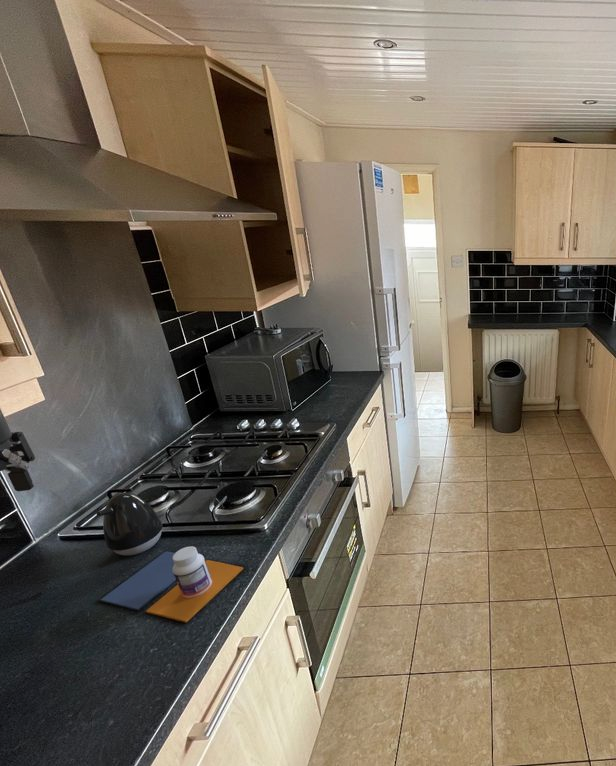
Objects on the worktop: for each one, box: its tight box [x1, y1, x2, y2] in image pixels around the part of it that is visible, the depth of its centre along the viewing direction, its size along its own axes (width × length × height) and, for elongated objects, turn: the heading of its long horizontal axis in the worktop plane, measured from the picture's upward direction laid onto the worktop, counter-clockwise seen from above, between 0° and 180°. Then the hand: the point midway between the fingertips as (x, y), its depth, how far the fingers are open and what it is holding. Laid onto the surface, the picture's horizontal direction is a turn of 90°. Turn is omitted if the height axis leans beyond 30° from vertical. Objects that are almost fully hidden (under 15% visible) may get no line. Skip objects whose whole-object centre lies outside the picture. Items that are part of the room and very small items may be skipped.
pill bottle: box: [173, 545, 212, 598], centre depth 87 cm, size 5×5×10 cm
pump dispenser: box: [95, 492, 163, 556], centre depth 98 cm, size 10×10×15 cm
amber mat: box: [145, 559, 244, 623], centre depth 89 cm, size 14×10×1 cm
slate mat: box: [100, 550, 176, 611], centre depth 92 cm, size 14×10×1 cm
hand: (6, 504), depth 70 cm, fingers open, 8 cm apart
